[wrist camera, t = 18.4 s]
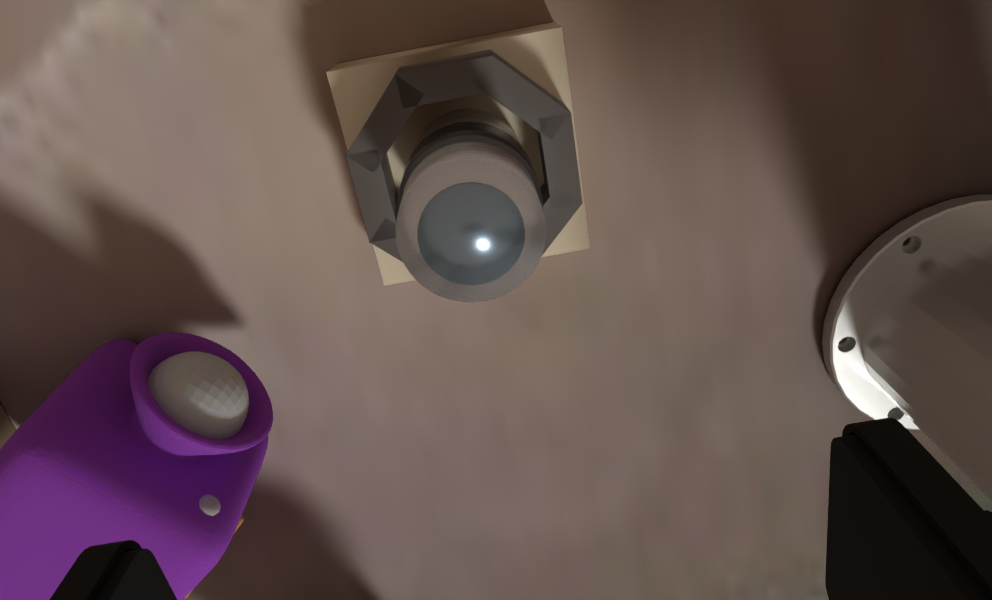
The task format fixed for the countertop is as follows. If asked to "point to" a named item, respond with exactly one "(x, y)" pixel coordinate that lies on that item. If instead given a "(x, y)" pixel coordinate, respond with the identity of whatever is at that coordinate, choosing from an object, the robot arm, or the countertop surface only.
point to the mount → (451, 86)
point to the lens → (470, 209)
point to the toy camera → (133, 463)
